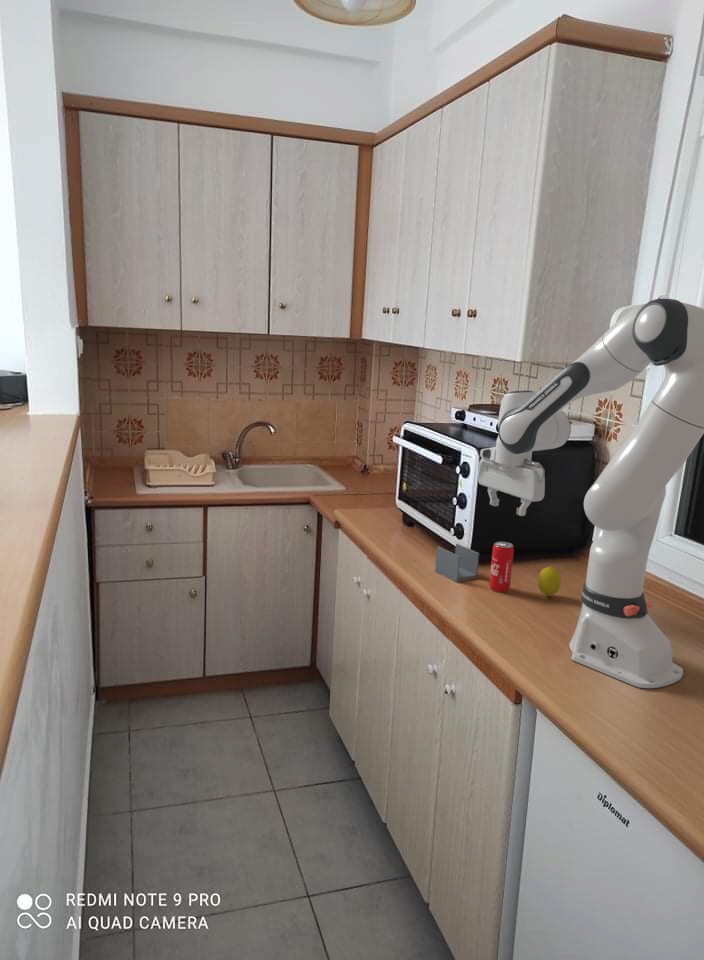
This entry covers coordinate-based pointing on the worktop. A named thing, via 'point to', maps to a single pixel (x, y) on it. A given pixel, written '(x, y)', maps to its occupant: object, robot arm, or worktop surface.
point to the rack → (457, 563)
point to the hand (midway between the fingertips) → (507, 510)
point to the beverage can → (501, 566)
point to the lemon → (549, 581)
